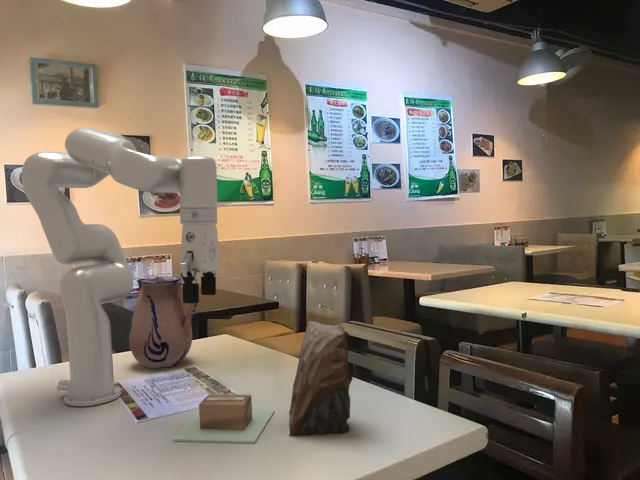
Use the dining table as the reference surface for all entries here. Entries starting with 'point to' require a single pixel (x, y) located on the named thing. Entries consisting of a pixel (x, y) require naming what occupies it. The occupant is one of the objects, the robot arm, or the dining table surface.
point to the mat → (226, 436)
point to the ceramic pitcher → (160, 323)
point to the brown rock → (321, 383)
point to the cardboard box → (225, 412)
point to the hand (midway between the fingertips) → (200, 298)
